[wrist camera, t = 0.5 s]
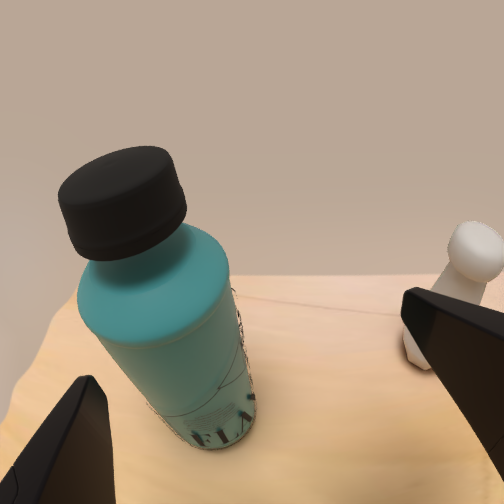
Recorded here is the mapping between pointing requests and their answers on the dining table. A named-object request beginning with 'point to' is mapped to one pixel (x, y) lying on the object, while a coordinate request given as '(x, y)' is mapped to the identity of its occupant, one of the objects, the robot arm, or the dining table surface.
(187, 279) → the beverage bottle
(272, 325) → the dining table surface
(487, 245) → the salt shaker
